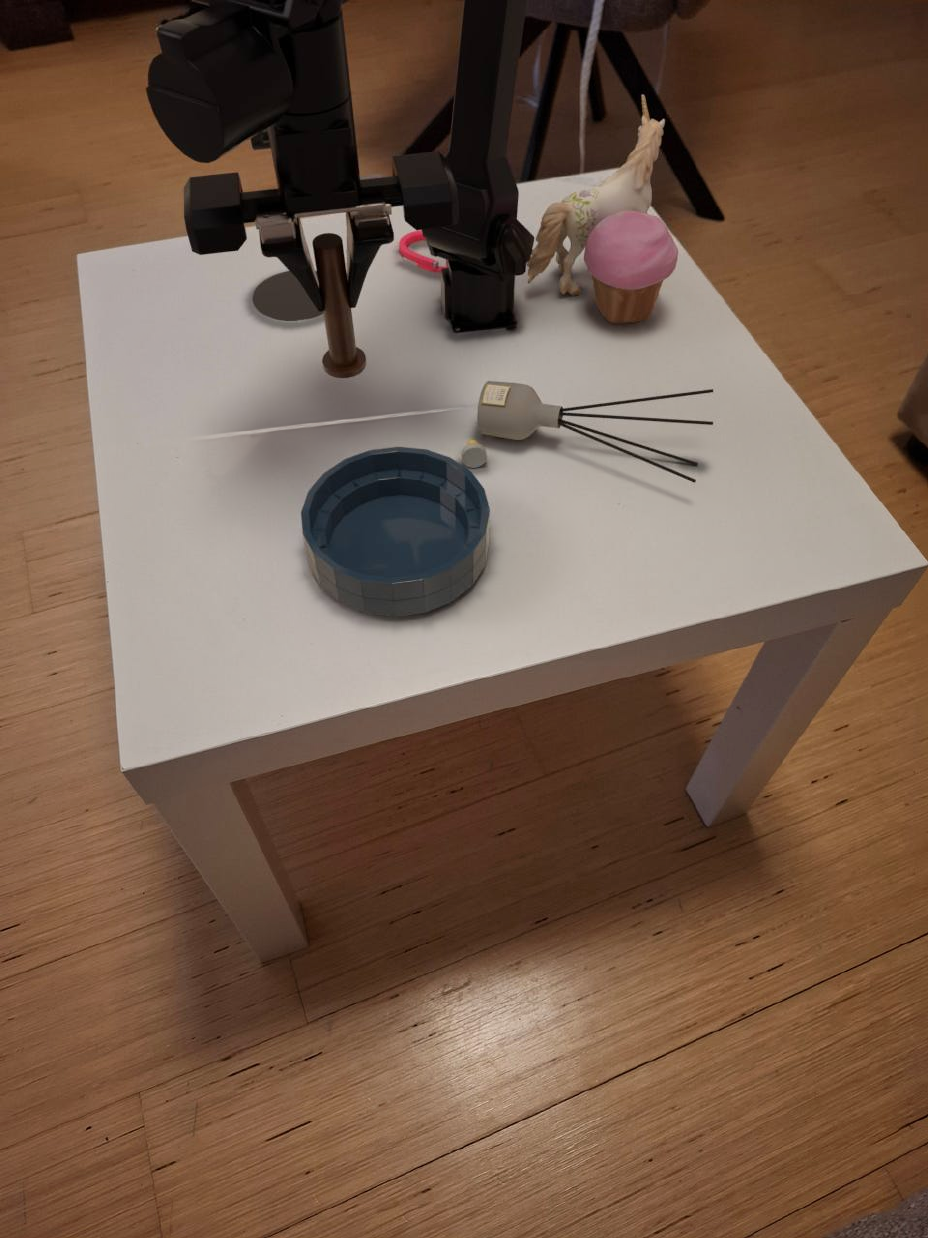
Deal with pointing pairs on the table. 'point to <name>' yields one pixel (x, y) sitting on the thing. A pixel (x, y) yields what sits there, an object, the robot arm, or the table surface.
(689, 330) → the table surface
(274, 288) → the coaster
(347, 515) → the bowl
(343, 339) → the brown collared rod
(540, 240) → the unicorn figurine
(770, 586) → the table surface
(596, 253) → the cupcake
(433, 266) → the fitness band
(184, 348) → the table surface
